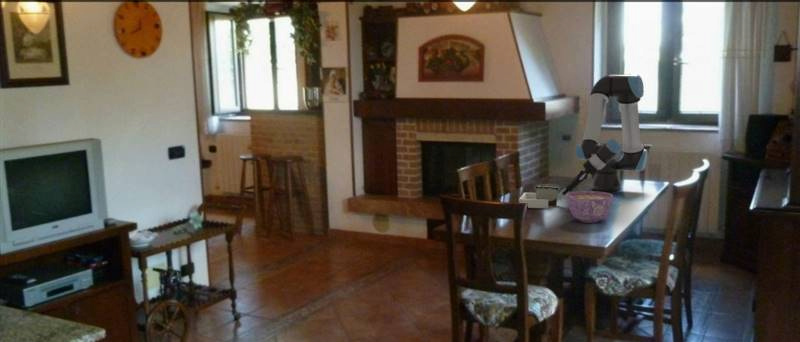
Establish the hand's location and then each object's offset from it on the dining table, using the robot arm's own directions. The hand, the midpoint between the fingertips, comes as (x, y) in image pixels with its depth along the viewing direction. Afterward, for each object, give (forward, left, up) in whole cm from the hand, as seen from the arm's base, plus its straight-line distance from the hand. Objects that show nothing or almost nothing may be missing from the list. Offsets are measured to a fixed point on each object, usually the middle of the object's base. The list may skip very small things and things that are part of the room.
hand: (558, 198), depth 364 cm
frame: (+11, 0, -3) cm, 11 cm away
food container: (+5, +1, -4) cm, 6 cm away
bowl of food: (-16, +34, -4) cm, 38 cm away
